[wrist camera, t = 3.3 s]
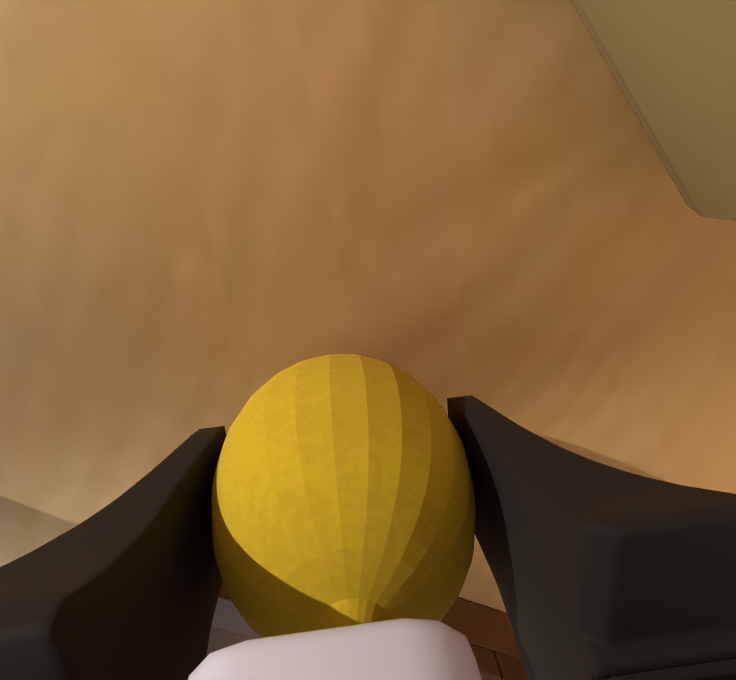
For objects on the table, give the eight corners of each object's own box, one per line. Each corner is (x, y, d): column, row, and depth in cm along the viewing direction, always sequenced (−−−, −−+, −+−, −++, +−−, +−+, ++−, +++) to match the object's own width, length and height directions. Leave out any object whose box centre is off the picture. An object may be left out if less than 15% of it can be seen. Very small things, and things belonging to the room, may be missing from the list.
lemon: (454, 331, 15) (588, 525, 7) (405, 493, 17) (473, 780, 9) (257, 293, 14) (182, 469, 7) (229, 467, 16) (146, 760, 8)
